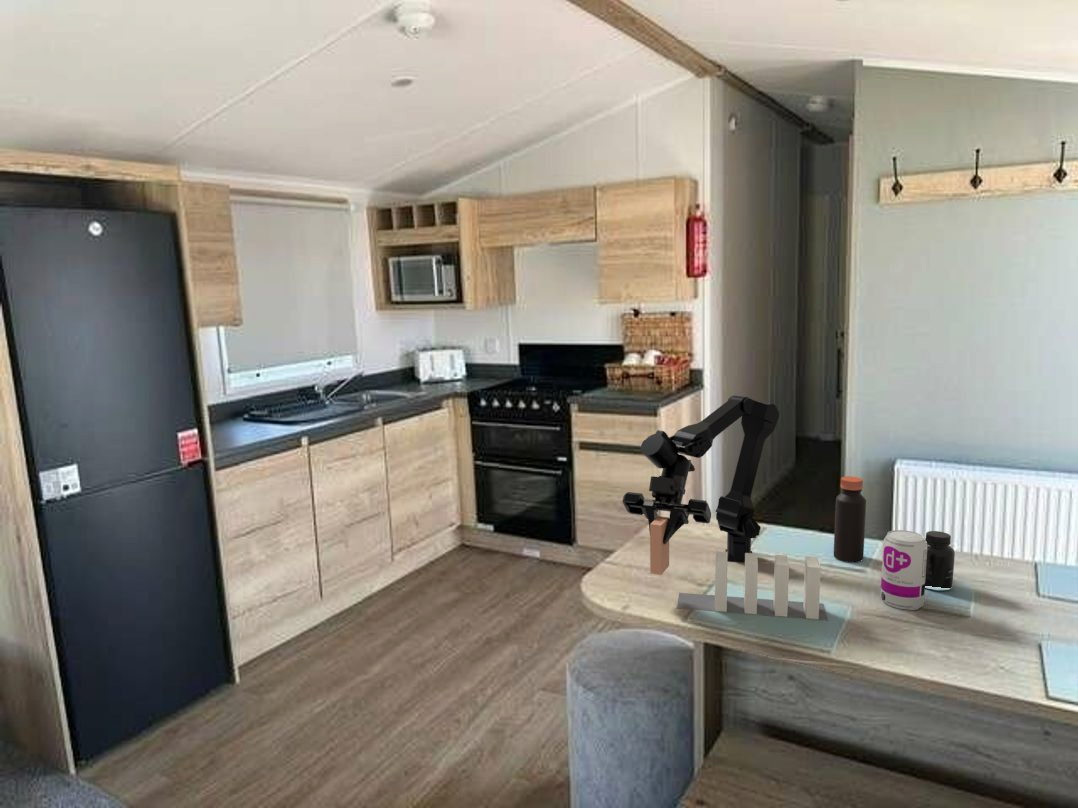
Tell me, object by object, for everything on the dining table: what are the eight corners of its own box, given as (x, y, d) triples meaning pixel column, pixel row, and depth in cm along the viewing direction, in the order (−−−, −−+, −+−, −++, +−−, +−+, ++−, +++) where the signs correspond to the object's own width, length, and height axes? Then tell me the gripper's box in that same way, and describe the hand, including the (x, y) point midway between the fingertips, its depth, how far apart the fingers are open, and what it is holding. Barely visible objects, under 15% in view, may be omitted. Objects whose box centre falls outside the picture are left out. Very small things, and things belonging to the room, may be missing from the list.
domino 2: (744, 613, 154) (745, 562, 152) (744, 601, 159) (745, 552, 158) (756, 614, 154) (757, 563, 152) (755, 602, 159) (756, 553, 157)
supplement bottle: (956, 593, 162) (960, 540, 160) (922, 591, 163) (926, 538, 161) (946, 580, 168) (950, 529, 166) (913, 578, 170) (916, 528, 168)
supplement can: (906, 615, 152) (910, 545, 150) (871, 600, 159) (875, 533, 157) (932, 606, 156) (936, 538, 153) (897, 592, 163) (901, 526, 160)
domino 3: (775, 615, 153) (776, 564, 151) (773, 604, 158) (774, 554, 156) (787, 616, 152) (788, 565, 150) (785, 605, 157) (786, 555, 156)
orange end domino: (650, 573, 160) (650, 524, 158) (658, 564, 165) (658, 516, 163) (661, 575, 159) (661, 525, 157) (669, 565, 164) (669, 517, 162)
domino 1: (714, 610, 156) (715, 560, 154) (715, 599, 161) (715, 551, 159) (726, 611, 155) (727, 561, 153) (726, 600, 160) (727, 551, 158)
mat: (679, 594, 165) (679, 592, 165) (823, 605, 158) (823, 603, 158) (676, 609, 157) (676, 608, 157) (828, 622, 150) (828, 620, 150)
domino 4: (806, 618, 151) (807, 566, 149) (803, 606, 157) (805, 556, 155) (818, 619, 151) (820, 567, 149) (815, 607, 156) (817, 557, 154)
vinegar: (837, 551, 188) (840, 473, 184) (866, 556, 184) (870, 477, 180) (830, 559, 182) (833, 480, 179) (859, 565, 178) (863, 484, 175)
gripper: (624, 456, 165) (606, 519, 158) (708, 464, 157) (693, 531, 149) (637, 482, 174) (620, 542, 166) (717, 490, 165) (703, 555, 157)
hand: (657, 542), depth 159 cm, fingers closed on orange end domino, 2 cm apart
